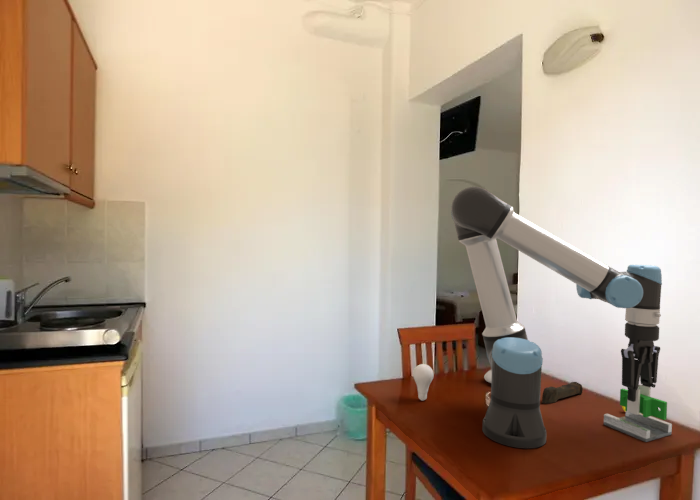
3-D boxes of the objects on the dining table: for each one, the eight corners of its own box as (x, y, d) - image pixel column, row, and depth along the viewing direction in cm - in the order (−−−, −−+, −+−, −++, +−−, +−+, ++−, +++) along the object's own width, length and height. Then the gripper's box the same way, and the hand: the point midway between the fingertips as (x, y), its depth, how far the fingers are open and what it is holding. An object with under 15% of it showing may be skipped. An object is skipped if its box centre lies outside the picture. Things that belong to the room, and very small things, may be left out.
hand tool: (571, 392, 145) (571, 378, 144) (582, 395, 141) (583, 381, 141) (534, 401, 135) (534, 386, 135) (545, 406, 131) (546, 391, 131)
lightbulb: (411, 402, 130) (412, 366, 130) (413, 395, 136) (414, 360, 136) (432, 405, 129) (433, 368, 128) (433, 398, 135) (434, 362, 134)
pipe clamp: (614, 406, 120) (614, 390, 120) (622, 404, 122) (622, 388, 121) (658, 422, 110) (659, 403, 110) (666, 419, 112) (667, 401, 112)
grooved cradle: (645, 442, 109) (646, 431, 109) (603, 424, 119) (604, 414, 119) (671, 434, 114) (671, 423, 114) (628, 418, 124) (629, 408, 123)
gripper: (637, 328, 108) (633, 422, 109) (676, 324, 116) (672, 411, 116) (607, 323, 115) (604, 411, 116) (646, 319, 122) (642, 401, 123)
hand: (638, 411), depth 116 cm, fingers closed on pipe clamp, 4 cm apart
